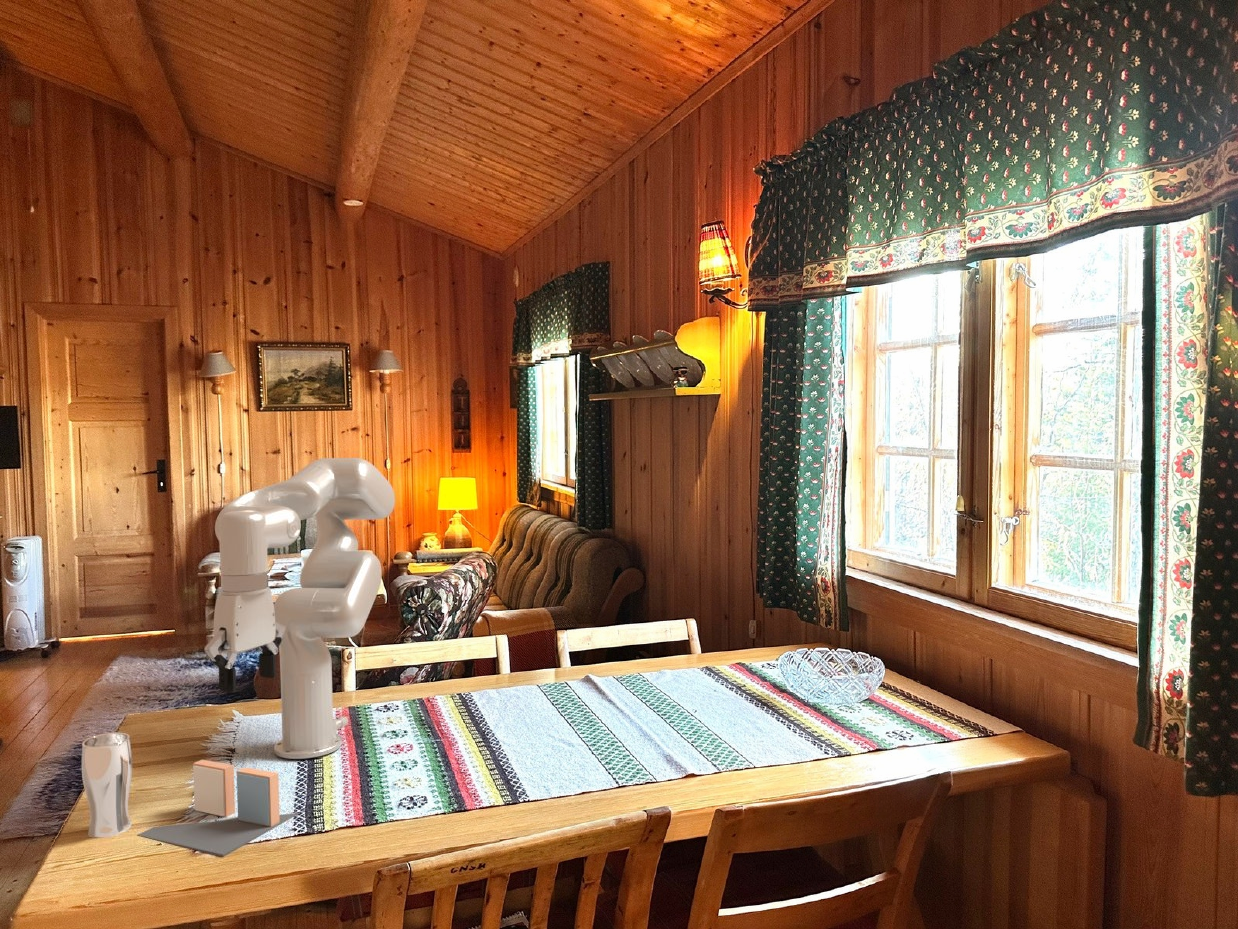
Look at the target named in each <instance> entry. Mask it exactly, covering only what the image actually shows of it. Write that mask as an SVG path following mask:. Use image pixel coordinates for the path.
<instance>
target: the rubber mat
mask: <svg viewBox="0 0 1238 929" xmlns="http://www.w3.org/2000/svg"><path fill="white" fill-rule="evenodd" d="M299 814H300V812H297V813H296V812H295V813H286V814H280V822H279V823H278V824H276V825H274V826H272V827H270V826H265V825H260V824H255V823H250V822H246V821H241V820H238V818H233V819H224V820H223V819H222V820H213V821H201V822H194V823H193V822H192V823H183V824H182V823H181V824H173V825H172V824H171V825H162V826H153V827H151V828H149V829H147V830H145V831H143V832H140V833H138V834H137V836H138V837H141V838H146V839H150V840H154V841H158V842H163V843H165V844H170V845H174V846H178V847H181V848H182V847H183V848H186V849H189V850H194V851H197V852H202V853H205V854H209V855H212V856H213V855H214V856H217V857H221V858H225V857H226V856H228V855H229V854H232V853H234V852H235V851H236V850H238V849H240V848H242V847H245V845H247V844H249V843H250V842H253V841H254V840H256V839H258V838H259V837H261V836H263V835H264V834H266V833H268V832H270V831H271V830H273V829H275V828H276V827H277V828H278V826H280V825H282V824H284V823H286V822H287V821H289V820H291V819H292V818H294V817H296V816H297V815H299Z"/></svg>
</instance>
